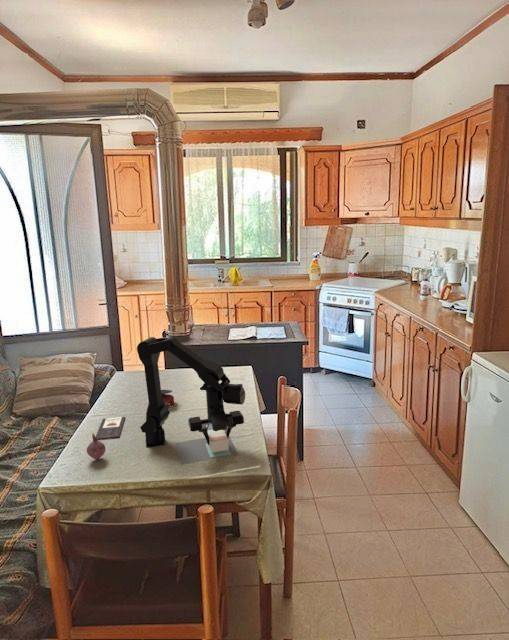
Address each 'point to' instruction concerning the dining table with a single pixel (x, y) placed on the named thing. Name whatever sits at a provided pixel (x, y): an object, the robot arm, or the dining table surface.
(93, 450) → the vegetable
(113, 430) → the chocolate bar
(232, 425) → the robot arm
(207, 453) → the mat
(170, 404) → the canned food
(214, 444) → the card box
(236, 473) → the dining table surface
